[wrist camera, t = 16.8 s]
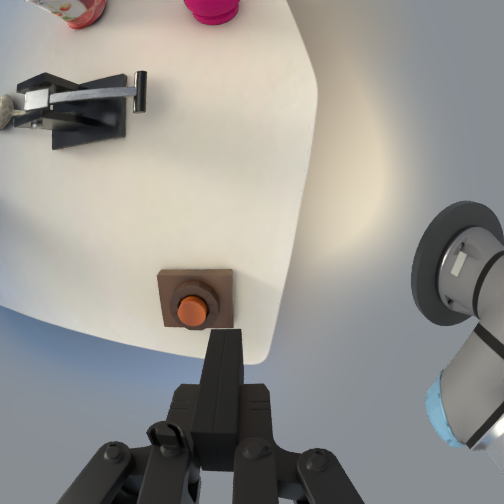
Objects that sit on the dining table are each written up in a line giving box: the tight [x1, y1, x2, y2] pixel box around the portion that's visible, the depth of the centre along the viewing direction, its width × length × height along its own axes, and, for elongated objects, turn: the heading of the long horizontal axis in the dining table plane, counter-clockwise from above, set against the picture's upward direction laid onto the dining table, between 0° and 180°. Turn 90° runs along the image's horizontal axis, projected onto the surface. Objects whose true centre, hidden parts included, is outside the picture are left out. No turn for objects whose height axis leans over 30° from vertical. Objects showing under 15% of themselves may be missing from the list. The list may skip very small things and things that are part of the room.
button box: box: [157, 269, 234, 330], centre depth 39 cm, size 10×8×4 cm
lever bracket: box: [14, 72, 127, 150], centre depth 26 cm, size 12×9×14 cm
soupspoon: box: [0, 94, 76, 130], centre depth 30 cm, size 22×3×7 cm
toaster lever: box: [24, 71, 147, 114], centre depth 24 cm, size 14×5×2 cm
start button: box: [178, 296, 207, 326], centre depth 37 cm, size 4×4×2 cm
